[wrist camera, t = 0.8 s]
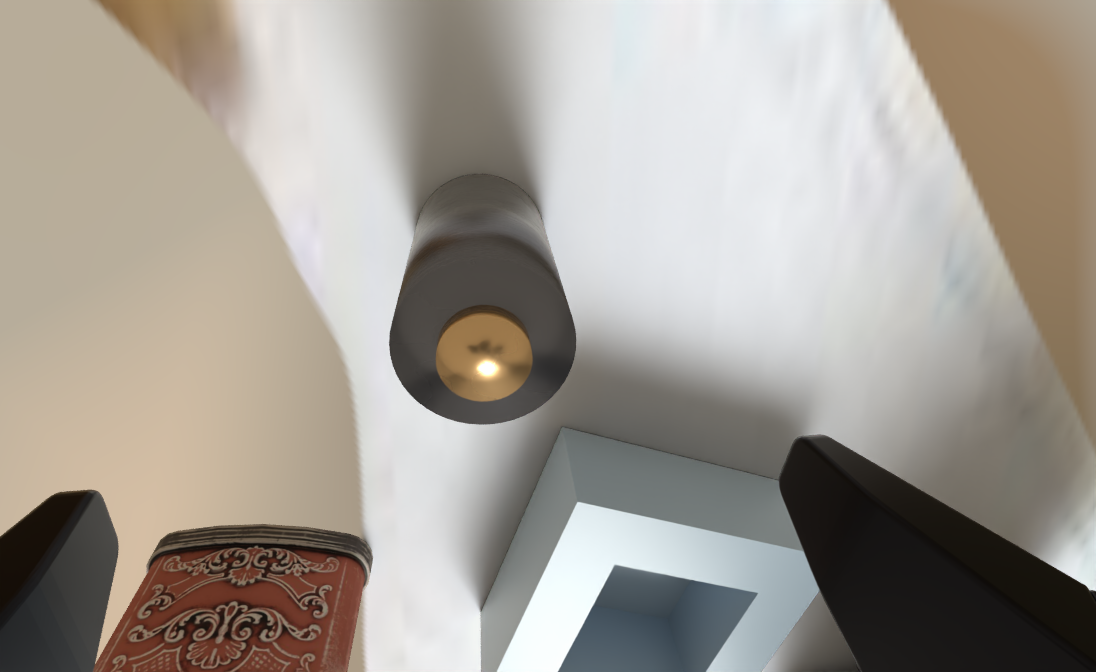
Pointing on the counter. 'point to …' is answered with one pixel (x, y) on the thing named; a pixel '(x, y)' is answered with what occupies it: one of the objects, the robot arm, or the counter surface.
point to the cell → (481, 306)
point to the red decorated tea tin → (244, 602)
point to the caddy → (645, 567)
